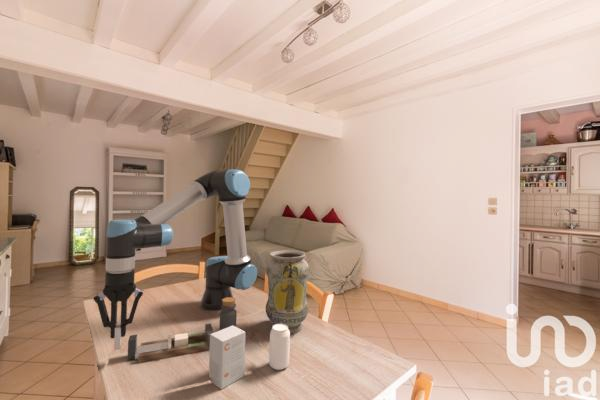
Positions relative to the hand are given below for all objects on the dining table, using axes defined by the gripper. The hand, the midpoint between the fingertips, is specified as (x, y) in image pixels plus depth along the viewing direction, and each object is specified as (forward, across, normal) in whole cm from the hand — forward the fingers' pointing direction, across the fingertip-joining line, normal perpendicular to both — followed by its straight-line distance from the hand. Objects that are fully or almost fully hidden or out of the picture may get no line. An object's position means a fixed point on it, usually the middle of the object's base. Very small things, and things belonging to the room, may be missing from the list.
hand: (117, 347), depth 85 cm
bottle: (+5, -33, -2) cm, 34 cm away
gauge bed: (+5, -17, 0) cm, 18 cm away
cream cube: (+4, -18, 0) cm, 18 cm away
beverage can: (+5, -45, +19) cm, 50 cm away
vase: (+5, -57, -5) cm, 58 cm away
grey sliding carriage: (+3, -9, +1) cm, 10 cm away
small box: (+5, -29, +20) cm, 36 cm away
